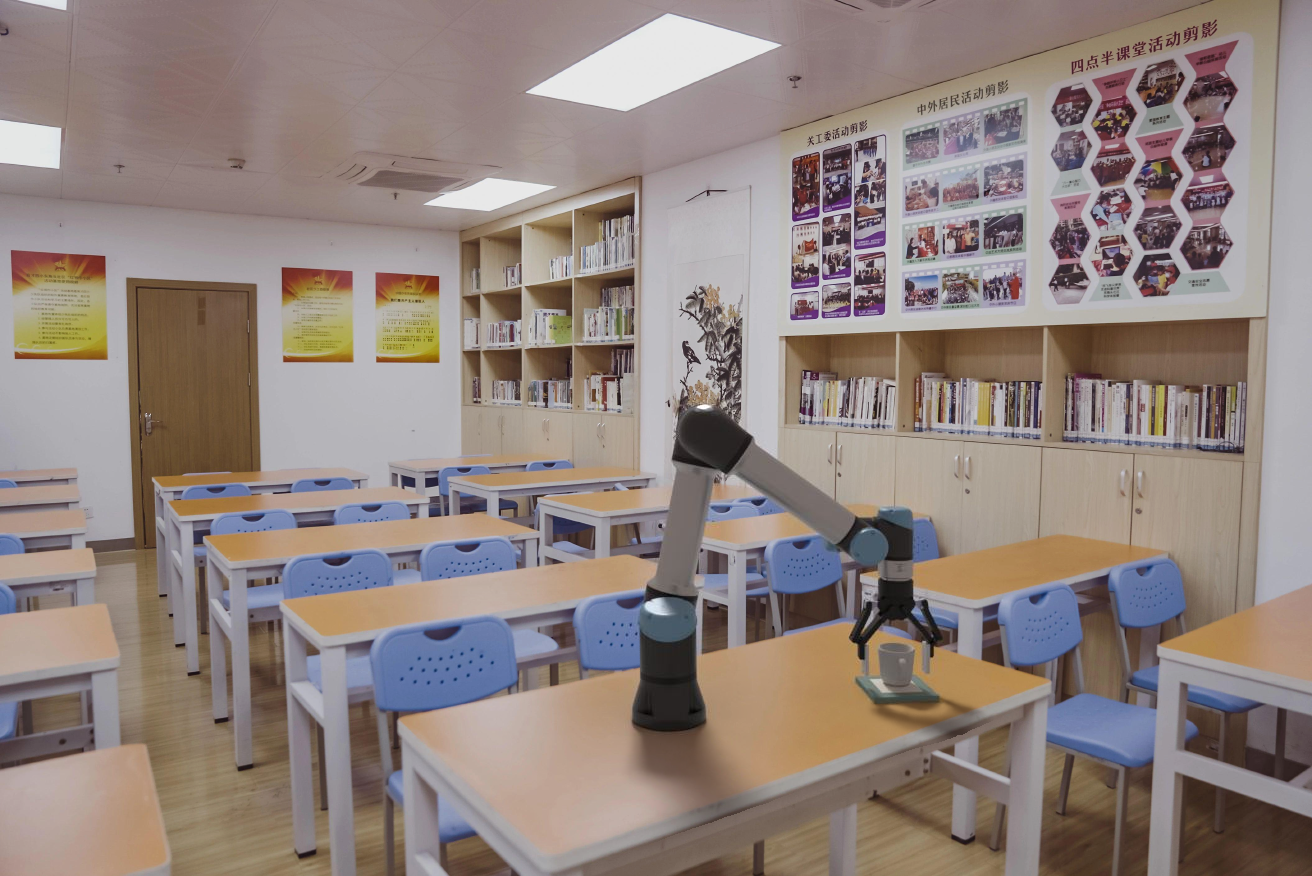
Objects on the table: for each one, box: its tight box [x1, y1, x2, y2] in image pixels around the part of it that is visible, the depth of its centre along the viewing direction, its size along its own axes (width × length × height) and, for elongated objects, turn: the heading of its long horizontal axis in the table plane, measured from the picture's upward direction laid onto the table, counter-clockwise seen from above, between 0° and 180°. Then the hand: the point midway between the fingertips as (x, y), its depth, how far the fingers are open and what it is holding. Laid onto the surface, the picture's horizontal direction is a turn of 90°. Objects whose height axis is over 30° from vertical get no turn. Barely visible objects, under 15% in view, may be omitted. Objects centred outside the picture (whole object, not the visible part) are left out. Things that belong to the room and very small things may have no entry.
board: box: [855, 674, 940, 704], centre depth 189 cm, size 14×14×1 cm
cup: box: [877, 642, 916, 686], centre depth 189 cm, size 11×8×8 cm
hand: (895, 672), depth 189 cm, fingers open, 13 cm apart
